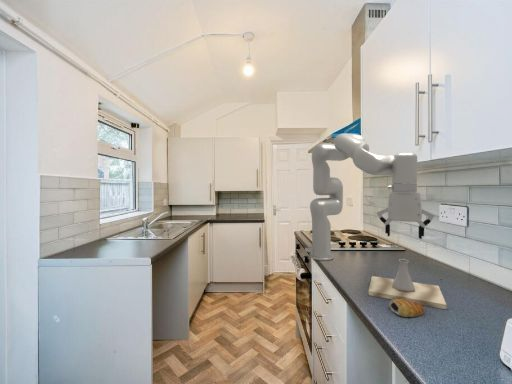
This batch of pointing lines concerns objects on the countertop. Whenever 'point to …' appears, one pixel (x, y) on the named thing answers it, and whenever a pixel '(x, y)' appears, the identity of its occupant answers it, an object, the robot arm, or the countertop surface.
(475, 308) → the countertop surface
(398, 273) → the flask
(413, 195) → the robot arm
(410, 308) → the pastry
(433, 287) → the birch board
